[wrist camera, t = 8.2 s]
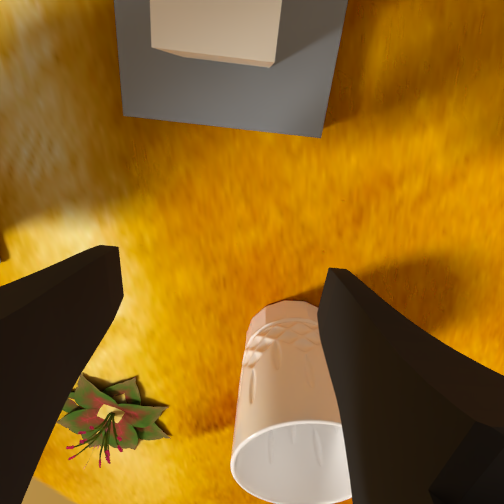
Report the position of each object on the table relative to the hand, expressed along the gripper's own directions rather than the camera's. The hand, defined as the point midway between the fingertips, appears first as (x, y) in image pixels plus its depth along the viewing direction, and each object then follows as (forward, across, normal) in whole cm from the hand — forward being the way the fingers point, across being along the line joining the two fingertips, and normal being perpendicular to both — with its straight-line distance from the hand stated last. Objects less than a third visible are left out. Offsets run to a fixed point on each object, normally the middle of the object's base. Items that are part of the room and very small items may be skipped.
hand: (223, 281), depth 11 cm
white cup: (+10, -5, +11) cm, 16 cm away
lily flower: (+11, +10, +23) cm, 27 cm away
